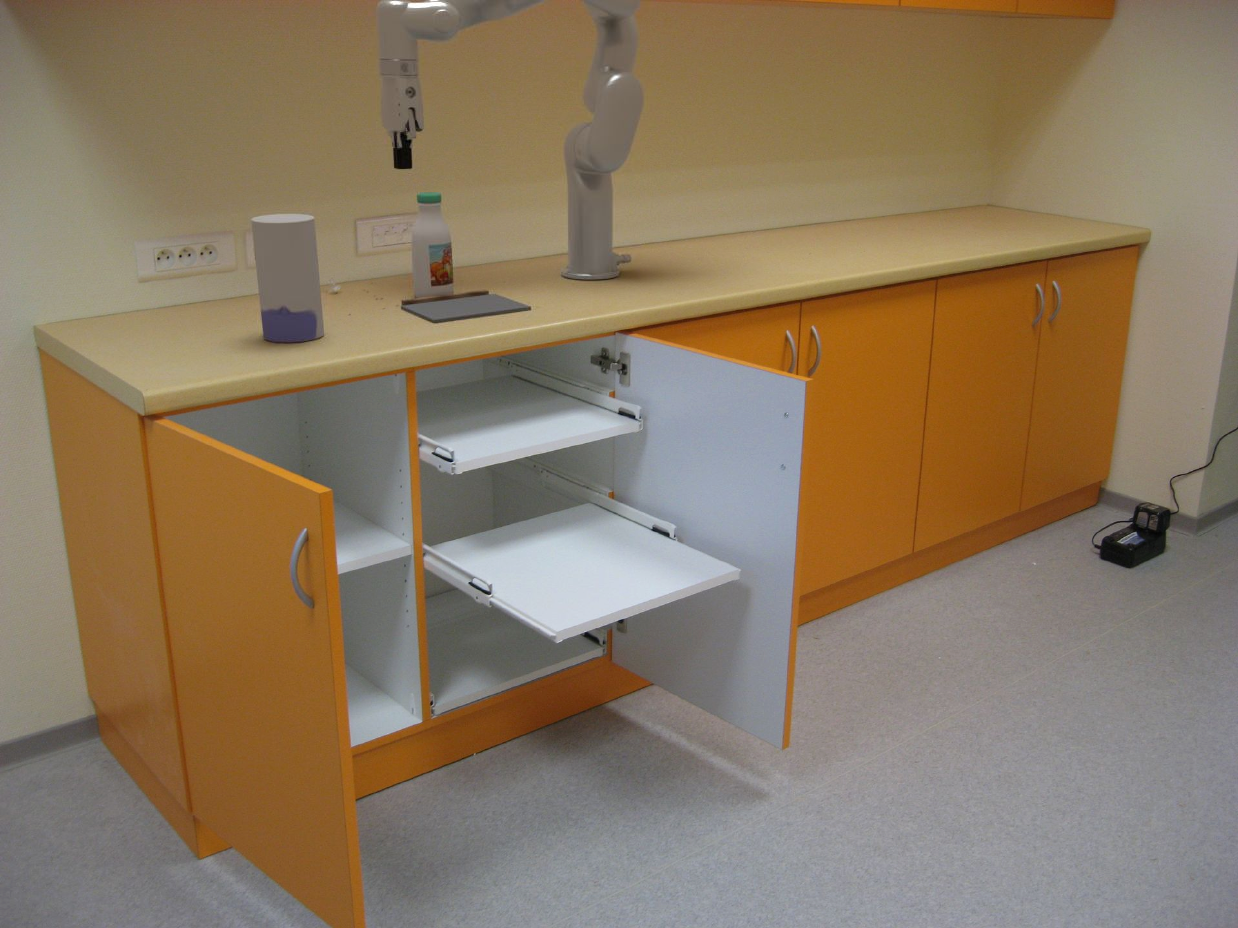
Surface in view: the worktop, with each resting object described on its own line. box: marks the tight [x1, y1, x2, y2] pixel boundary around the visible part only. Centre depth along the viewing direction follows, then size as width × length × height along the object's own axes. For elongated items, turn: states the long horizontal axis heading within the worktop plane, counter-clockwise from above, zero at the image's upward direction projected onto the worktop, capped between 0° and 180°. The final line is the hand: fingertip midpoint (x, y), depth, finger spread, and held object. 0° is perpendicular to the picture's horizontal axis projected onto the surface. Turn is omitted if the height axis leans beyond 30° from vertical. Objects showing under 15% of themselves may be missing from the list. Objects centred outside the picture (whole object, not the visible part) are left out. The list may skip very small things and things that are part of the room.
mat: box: [400, 293, 532, 324], centre depth 216 cm, size 20×14×1 cm
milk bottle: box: [411, 191, 455, 298], centre depth 223 cm, size 8×8×20 cm
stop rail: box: [401, 289, 490, 306], centre depth 222 cm, size 18×1×1 cm, turn 124°
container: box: [250, 213, 325, 343], centre depth 192 cm, size 10×10×20 cm
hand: (403, 168), depth 226 cm, fingers closed
